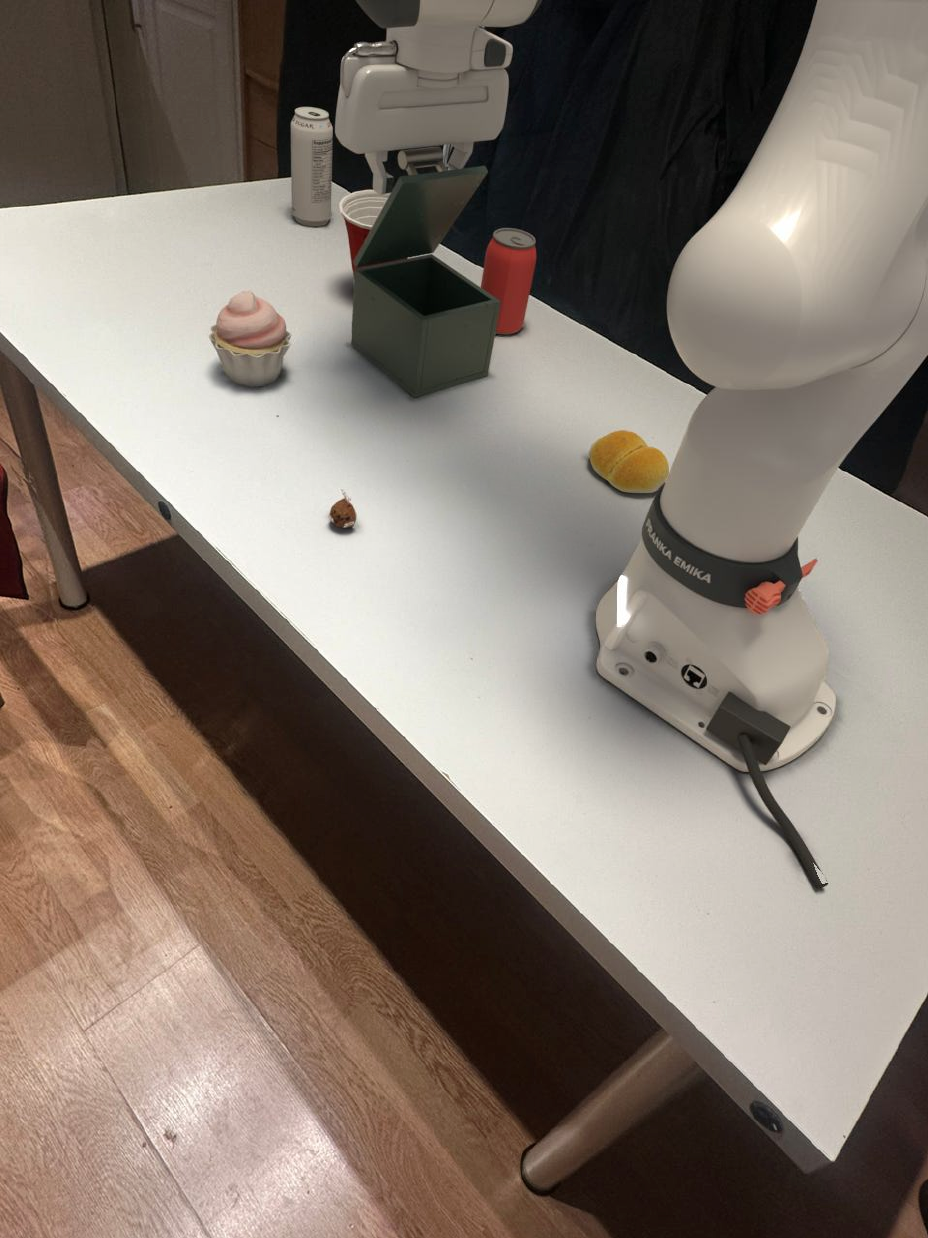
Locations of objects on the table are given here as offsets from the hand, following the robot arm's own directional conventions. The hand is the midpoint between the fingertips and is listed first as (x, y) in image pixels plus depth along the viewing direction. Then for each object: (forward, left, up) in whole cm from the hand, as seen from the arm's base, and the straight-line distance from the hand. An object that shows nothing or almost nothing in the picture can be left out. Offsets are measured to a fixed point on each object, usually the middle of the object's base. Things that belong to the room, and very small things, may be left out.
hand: (417, 187), depth 92 cm
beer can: (-1, -16, -20) cm, 25 cm away
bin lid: (-1, 0, -3) cm, 3 cm away
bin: (-4, 0, -19) cm, 20 cm away
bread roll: (-34, -7, -20) cm, 40 cm away
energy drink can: (+38, -10, -20) cm, 44 cm away
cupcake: (+2, +20, -20) cm, 28 cm away
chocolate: (-26, +26, -20) cm, 41 cm away
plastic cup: (+13, -5, -20) cm, 24 cm away
